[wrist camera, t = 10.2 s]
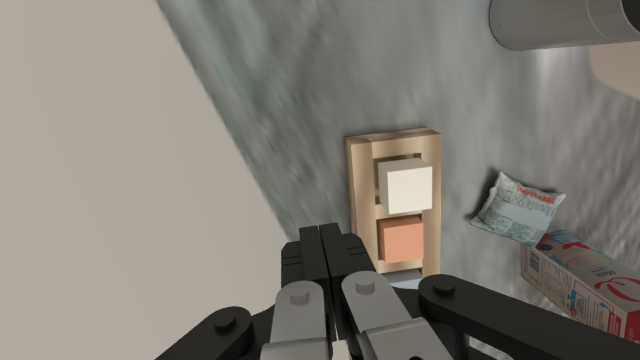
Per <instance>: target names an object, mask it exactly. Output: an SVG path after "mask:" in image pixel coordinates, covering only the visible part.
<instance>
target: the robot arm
mask: <svg viewBox="0 0 640 360" xmlns="http://www.w3.org/2000/svg"><path fill="white" fill-rule="evenodd" d="M489 18H490V26H491V30H492V32H493V34H494V36H495V38H496V39H497V41H498V42H499V43H500V44H502V45H503V46H504V47H506V48H508V49H511V50H518V51H521V50H533V49H548V48H561V47H573V46H586V45H598V44H611V43H623V42H632V41H640V0H492V2H491V6H490V13H489ZM319 233H320V235H319ZM299 234H300V241H295V242H288V243H286V245H285V246H284V247H283V249H282V251H281V265H282V267H281V290H280V291H279V292H278V294H277V296H276V302H275V304H274V305H273V306H271V307H270V308H269V309H267V310H265V311H263V312H260V313H258V314H255V315H253V316H251V315H250V312H249V311H248V310H246V309H245V308H242V307H235V306H234V307H233V306H232V307H227V308H223V309H220V310H218V311H215V312H214V313H212V314H210V315H209V316H208V317H207V318H205V319H204V320H203V321H202V322H200V323H199V324H198V325H197V326H195V327H194V328H193V329H192V330H191V331H189V332H188V333H187V334H186V335H184V336H183V337H182V338H181V339H179V340H178V341H177V342H176V343H175V344H173V345H172V346H171V347H170V348H168V349H167V350H166V351H165V352H164V353H162V354H161V355H160V356H159V357H157V358H156V359H155V360H332V356H333V347H332V342H334V341H337V338H336V330H335V324H336V329H337V334H338V339H339V340H345V339H346V340H347V344H348V351H349V360H497V359H495V358H493V357H491V356H489V355H487V354H485V353H483V352H481V351H479V350H477V349H475V348H473V347H471V346H469V336H471V337H473V338H475V339H477V340H480V341H482V342H484V343H486V344H488V345H490V346H492V347H494V348H496V349H499V350H501V351H503V352H505V353H507V354H508V355H509V356H511V357H512V358H513V359H514V360H640V344H638V343H635V342H633V341H630V340H627V339H624V338H622V337H619V336H616V335H613V334H611V333H608V332H605V331H602V330H600V329H597V328H594V327H591V326H589V325H586V324H583V323H580V322H578V321H575V320H572V319H569V318H567V317H564V316H561V315H558V314H556V313H553V312H550V311H548V310H545V309H542V308H539V307H537V306H534V305H531V304H528V303H526V302H523V301H520V300H517V299H515V298H512V297H509V296H506V295H504V294H501V293H498V292H495V291H493V290H490V289H487V288H484V287H482V286H479V285H476V284H474V283H471V282H468V281H465V280H463V279H460V278H457V277H454V276H451V275H445V274H434V275H430V276H427V277H425V278H423V279H422V280H421V281H420V282H419V284H418V289H406V288H398V287H394V286H391V285H390V283H389V282H388V280H387V279H386V278H385V277H384V276H383V275H381V274H379V273H377V271H376V269H375V267H374V265H373V262H372V260H371V258H370V256H369V254H368V253H367V250H366V248H365V246H364V243H363V241H362V239H361V238H360V237H358V236H357V235H355V234H354V233H348V234H341V231H340V228H339V226H338V223H330V224H323V225H319V230H318V226H310V227H303V228H299ZM334 320H335V321H334Z"/></svg>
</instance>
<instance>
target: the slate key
mask: <svg viewBox="0 0 640 360" xmlns="http://www.w3.org/2000/svg"><path fill="white" fill-rule="evenodd" d="M379 274H381V275H383V276H384V277H385V278H386V279H387V280H388V282H389V283H390V285H391V286H394V287H398V288H406V289H418V284H419V282H420V281H421V280H422V279H423V277H422V275H421V274H420V272H419V271H418V269H417V268H413V269H406V270H400V271H393V272H386V273H379Z"/></svg>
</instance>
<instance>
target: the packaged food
mask: <svg viewBox="0 0 640 360" xmlns="http://www.w3.org/2000/svg"><path fill="white" fill-rule="evenodd" d="M489 193H490V195H489V197H488V198H487V199H486V201H485V203H484V206H483V208H482V210H480V211H479V214H478V215H477V216H475V218H473V219H472V220H470V224H471V225H473V226H475V227H477V228H480V229H483V230H486V231H489V232H491V233H494V234H498V235H501V236H504V237H508V238H510V239H512V240H516V241H519V242H523V243H524V244H525V245H527V246H528V247H531V248H535V247H536V245H537V243H538V242H539V241H540V239H541V238H542V236H543V235H544V233H545V232H546V231H547V229H548V227H549V225H550V223H551V221H552V218H553V216H554V214H555V212H556V210H557V207H558V205H559V204H560V203H561V202H562V200H563V199H564V198H565V196H566V195H565V194H564V193H562V192H560V193H545V192H543V191H540V190H538V189H534V188H531V187H524V186H523V185H521V183H519V182H517V181H515V180H512V179H510V178H509V177H507V176H506V175H505V174H504V173H503V172H502V171H501V170H500V169H499V171H498V178H497V179H496V181H495V184H494V186H493V188H491V189H490V192H489Z"/></svg>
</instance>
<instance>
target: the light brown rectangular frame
mask: <svg viewBox="0 0 640 360" xmlns="http://www.w3.org/2000/svg"><path fill="white" fill-rule="evenodd" d="M344 142H345V155H346V168H347V180H348V193H349V206H350V219H351V232H352V233H354V234H355V235H357V236H358V237H360V238H361V239H362V241H363V243H364V246H365V248H366V250H367V253H368V254H369V256H370V258H371V260H372V262H373V265H374V267H375V269H376V271H377V273H386V272H393V271H400V270H406V269H413V268H417V269H418V271H419V272H420V274H421V275H422V277H423V278H425V277H427V276H430V275H434V274H440V223H441V143H442V134H441V133H438V132H436V131H433V130H431V129H428V128H418V129H409V130H401V131H393V132H384V133H376V134H368V135H360V136H351V137H344ZM412 158H420V159H421V160H423V161H424V162H426V163H427V164H429V165H431V166H432V209H425V210H418V211H411V212H403V213H396V214H388V212H387V211H386V210H385V208H384V207H383V205H382V204H381V203H380V200H379V179H378V163H380V162H388V161H396V160H404V159H412ZM412 214H416V216H417V217H418V218H419V219H420V220H421V221H422V222H423V245H424V258H422V259H415V260H408V261H402V262H395V263H388V264H385V262H384V260H383V258H382V256H381V255H380V253H379V251H378V248H377V229H376V219H383V218H390V217H397V216H405V215H412Z"/></svg>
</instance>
